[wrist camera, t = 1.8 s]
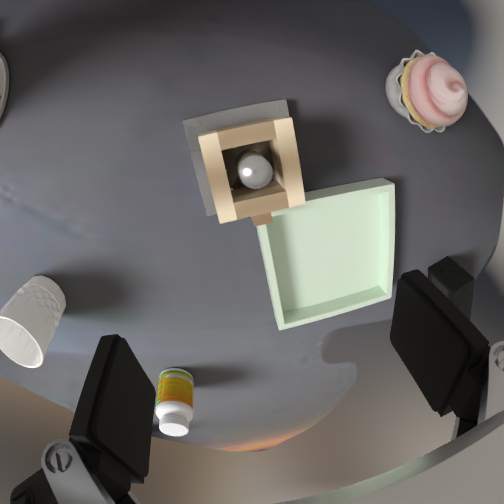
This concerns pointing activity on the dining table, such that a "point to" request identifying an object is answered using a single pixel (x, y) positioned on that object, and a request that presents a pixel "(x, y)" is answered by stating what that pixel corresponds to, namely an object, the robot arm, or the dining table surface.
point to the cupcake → (427, 91)
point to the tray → (330, 252)
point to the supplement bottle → (175, 401)
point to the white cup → (31, 321)
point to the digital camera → (453, 283)
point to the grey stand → (235, 149)
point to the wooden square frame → (246, 199)
